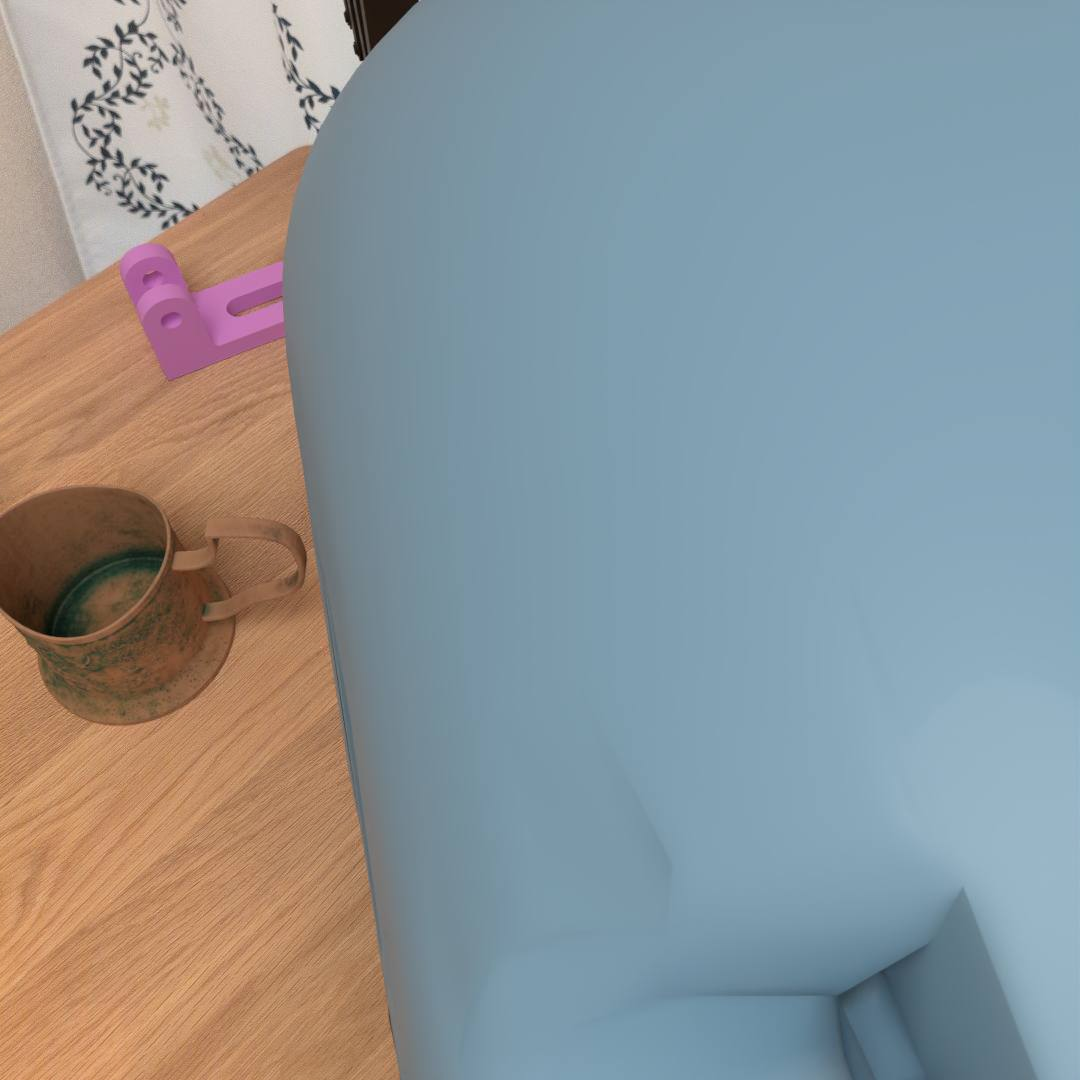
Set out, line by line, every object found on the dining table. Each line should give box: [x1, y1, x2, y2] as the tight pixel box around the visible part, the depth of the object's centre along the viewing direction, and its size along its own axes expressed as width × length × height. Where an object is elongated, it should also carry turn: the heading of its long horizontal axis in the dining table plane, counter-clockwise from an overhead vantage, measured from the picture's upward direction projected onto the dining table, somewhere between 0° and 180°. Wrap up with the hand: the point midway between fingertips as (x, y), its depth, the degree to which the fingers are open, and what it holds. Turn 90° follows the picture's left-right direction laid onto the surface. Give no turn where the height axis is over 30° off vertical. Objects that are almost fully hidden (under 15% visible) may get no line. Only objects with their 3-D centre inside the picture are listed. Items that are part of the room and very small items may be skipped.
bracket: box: [118, 243, 285, 382], centre depth 79 cm, size 13×6×7 cm, turn 117°
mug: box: [0, 483, 308, 727], centre depth 64 cm, size 12×18×12 cm, turn 90°
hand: (405, 177), depth 64 cm, fingers closed, pressing on ring
